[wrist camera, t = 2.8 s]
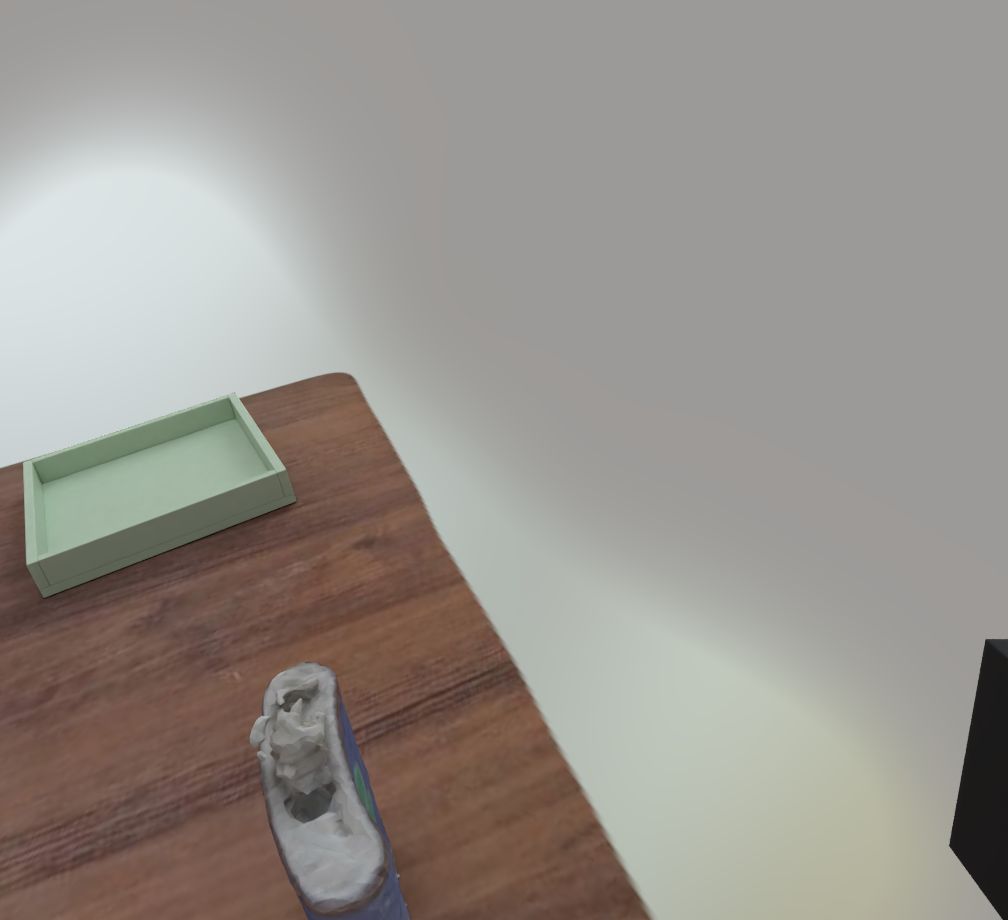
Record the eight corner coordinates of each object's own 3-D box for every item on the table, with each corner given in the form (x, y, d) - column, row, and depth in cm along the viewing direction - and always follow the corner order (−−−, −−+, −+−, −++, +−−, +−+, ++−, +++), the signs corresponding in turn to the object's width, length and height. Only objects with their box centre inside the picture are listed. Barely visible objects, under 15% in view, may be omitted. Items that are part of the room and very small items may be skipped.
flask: (465, 1072, 25) (379, 829, 19) (367, 1122, 24) (250, 884, 19) (388, 824, 32) (312, 603, 27) (312, 856, 32) (219, 636, 27)
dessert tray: (244, 419, 67) (234, 392, 66) (296, 501, 55) (286, 469, 53) (37, 490, 62) (22, 462, 60) (43, 598, 49) (25, 565, 48)
